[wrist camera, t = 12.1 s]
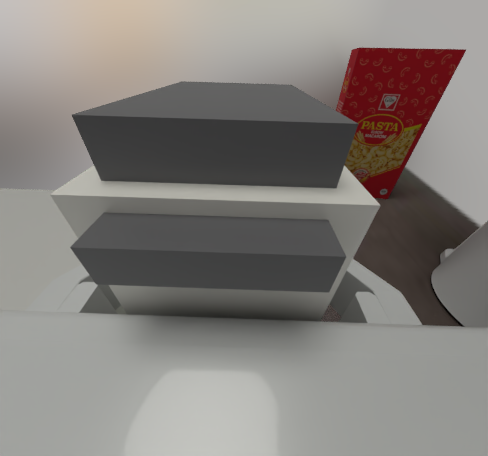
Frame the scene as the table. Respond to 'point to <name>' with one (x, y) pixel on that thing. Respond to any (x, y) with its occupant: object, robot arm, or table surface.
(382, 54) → the food packaging
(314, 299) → the white and grey box
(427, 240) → the table surface
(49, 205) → the bay
